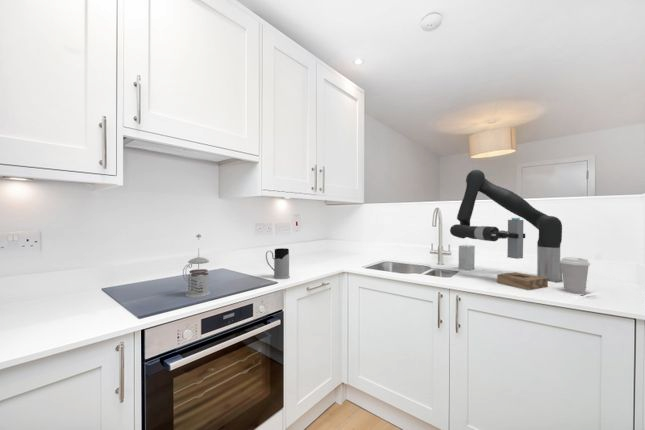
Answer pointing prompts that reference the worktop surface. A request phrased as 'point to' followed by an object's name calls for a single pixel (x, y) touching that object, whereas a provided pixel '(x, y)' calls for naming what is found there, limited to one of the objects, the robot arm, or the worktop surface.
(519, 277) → the brown wooden block
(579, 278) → the coffee cup
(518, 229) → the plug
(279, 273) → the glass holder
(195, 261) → the french press
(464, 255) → the skincare box
